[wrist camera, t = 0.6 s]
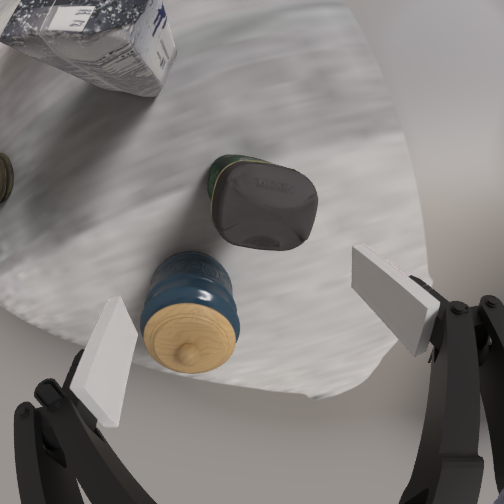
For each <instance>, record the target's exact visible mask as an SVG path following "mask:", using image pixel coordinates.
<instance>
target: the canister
mask: <svg viewBox="0 0 504 504" xmlns="http://www.w3.org/2000/svg"><path fill="white" fill-rule="evenodd" d="M140 329H141V333H142V336H143V338H144V343H145V346H146V349H147V350H148V352H149V354H150V355H151V356H152V357H153V358H154V359H155V360H156V361H157V362H158V363H159V364H161V365H162V366H164V367H166V368H168V369H170V370H173V371H176V372H181V373H189V374H195V373H203V372H208V371H211V370H213V369H216V368H217V367H219V366H221V365H222V364H224V363H225V362H226V361H227V360H228V359H229V358H230V356H231V355H232V353H233V351H234V348H235V344H236V342H237V340H238V337H239V334H240V322H239V318H238V315H237V308H236V304H235V301H234V299H233V295H232V285H231V281H230V278H229V275H228V274H227V272H226V270H225V269H224V268H223V266H222V265H221V264H220V263H219V262H218V261H217V260H215V259H214V258H212V257H211V256H209V255H206V254H204V253H200V252H192V251H191V252H181V253H178V254H175V255H173V256H171V257H169V258H168V259H166V260H165V261H164V262H163V263H162V264H161V265H160V266H159V267H158V269H157V270H156V272H155V274H154V276H153V279H152V282H151V289H150V292H149V294H148V296H147V298H146V301H145V305H144V309H143V311H142V314H141V318H140Z"/></svg>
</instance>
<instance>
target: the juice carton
mask: <svg viewBox="0 0 504 504" xmlns="http://www.w3.org/2000/svg"><path fill="white" fill-rule="evenodd" d="M0 42H2V43H4V44H6V45H8V46H10V47H12V48H15V49H17V50H19V51H21V52H22V53H24V54H26V55H28V56H30V57H32V58H35V59H37V60H39V61H42V62H44V63H46V64H49V65H51V66H54V67H56V68H58V69H60V70H63V71H65V72H67V73H69V74H72V75H74V76H76V77H78V78H80V79H83V80H85V81H87V82H89V83H91V84H93V85H95V86H97V87H100V88H102V89H107V90H114V91H123V92H127V93H130V94H134V95H138V96H143V97H156V96H158V94H159V93H160V91H161V89H162V87H163V85H164V82H165V79H166V77H167V74H168V71H169V69H170V67H171V65H172V64H173V62H174V60H175V58H176V55H177V51H176V48H175V44H174V41H173V37H172V34H171V31H170V27H169V24H168V20H167V17H166V13H165V10H164V6H163V3H162V0H21V1H20V3H19V4H18V6H17V8H16V9H15V11H14V13H13V15H12V16H11V18H10V20H9V22H8V24H7V25H6V27H5V29H4V31H3V33H2V35H1V37H0Z"/></svg>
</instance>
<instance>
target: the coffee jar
mask: <svg viewBox="0 0 504 504" xmlns="http://www.w3.org/2000/svg"><path fill="white" fill-rule="evenodd" d="M208 193H209V196H210V198H211V218H212V221H213V224H214V226H215V227H216V229H217V230H218V232H219V234H220V235H221V236H222V237H223V238H224V239H225V240H226V241H227V242H229V243H231V244H233V245H237V246H242V247H247V248H253V249H260V250H276V251H286V250H291V249H294V248H296V247H298V246H299V245H301V244H302V243H303V242H304V241H305V240H307V239H308V237H309V235H310V232H311V230H312V227H313V224H314V220H315V216H316V212H317V206H318V196H317V192H316V189H315V187H314V185H313V183H312V182H311V181H310V180H309V179H308V178H307V177H306V176H304V175H303V174H301V173H300V172H298V171H296V170H295V169H290V168H286V167H283V166H279V165H276V164H273V163H269V162H266V161H264V160H261V159H257V158H253V157H249V156H243V155H223V156H221V157H219V158H218V159H216V160H215V162H214V163H213V165H212V167H211V170H210V174H209V179H208Z"/></svg>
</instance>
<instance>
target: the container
mask: <svg viewBox="0 0 504 504" xmlns="http://www.w3.org/2000/svg"><path fill="white" fill-rule="evenodd" d="M12 186H13V168H12V164H11V162H10V160H9V158H8V157H7V156H6V155H5V154H3V153H0V203H2V202H3V201H5V200H6V199H7V198H8V196H9V195H10V192H11V190H12Z"/></svg>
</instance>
